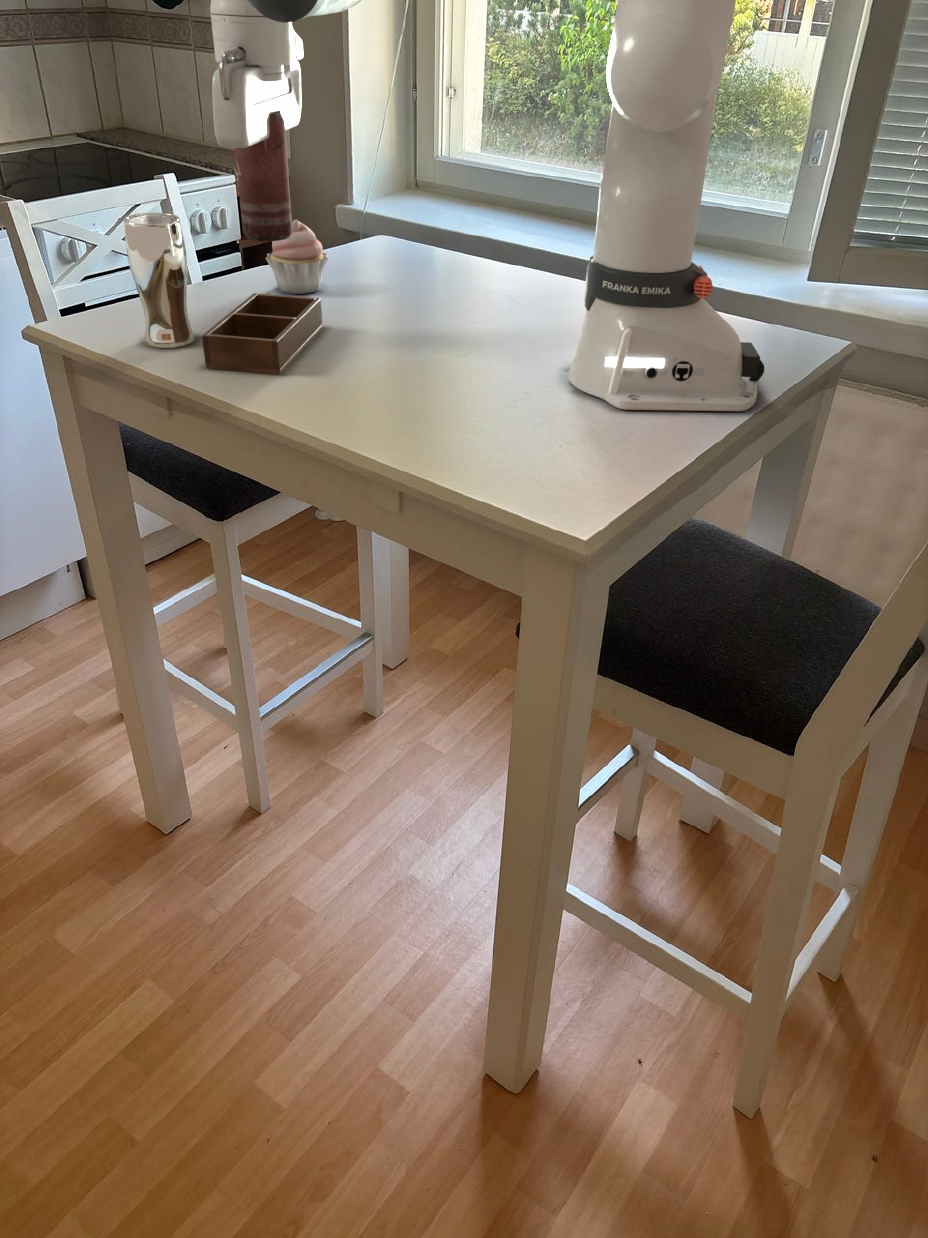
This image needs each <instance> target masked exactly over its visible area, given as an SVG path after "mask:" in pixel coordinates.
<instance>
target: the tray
mask: <svg viewBox="0 0 928 1238" xmlns="http://www.w3.org/2000/svg"><path fill="white" fill-rule="evenodd" d="M322 311H323V310H322V299H321V297H309V296H308V297H307V296H295V295H284V294H283V295H282V294H268V293H255V292H253V293H252V294H251V295H250V296H249V297H247V298H246V299H245V300H243V301H242V302H241V303H239V304H238V305H237V306H236V307H235V308H233V309H232V310H231V311H230V312H228V313H227V314H226V315H225V316H224V317H222V318H221V319H220V320H219V321H218V322H216V323H215V324H214V325H213V326H212V327H211V326H210V328H209V329H207V330H206V331H205V332H204V333H202V334H201V341H202V347H203V348H202V349H203V356H204V363H205V369H208V370H220V371H231V372H243V373H244V372H245V373H255V374H266V375H267V374H268V375H277V376H280V375H282V373H284V371H285V370H286V369H287V368H288V367H289V366H290V364H291V363H292V362H293V361H295V359H296V358H297V357H298V356H299V355H300V354H301V353H302V352H303V350H305V348H307V346H308V345H309V344H310V343H311V342H312V341H313V340H314V338H315V337H316V336H317V335H318V334H319V333H320V332H321V331H322V330H323V329H324V328H323V312H322Z"/></svg>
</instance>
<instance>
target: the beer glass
mask: <svg viewBox="0 0 928 1238" xmlns="http://www.w3.org/2000/svg"><path fill="white" fill-rule="evenodd" d="M122 221H123V227H124V238H125V247H126V256H127V260H128V265H129V269H130V273H131V276H132V279H133V282H134V286H135V288H136V291H137V293H138V296H139V299H140V302H141V306H142V310H143V314H144V321H145V322H144V323H145V329H144V330H145V333H144V335H145V337H144V339H145V343H146V344H147V345H148V346H150V347H153V348H159V349H175V348H181V347H185V346H188V345H190V344H192V343H193V342H194V340H195V335H194V333H193V329H192V325H191V322H190V319H189V314H188V305H187V303H188V302H187V299H188V296H187V295H188V258H187V250H186V244H185V240H184V235H183V231H182V225H181V221H180V216H179V215H177V214H173V213H169V212H142V213H133V214H130V215H127V216H125V217H123V220H122Z"/></svg>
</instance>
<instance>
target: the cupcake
mask: <svg viewBox="0 0 928 1238" xmlns="http://www.w3.org/2000/svg"><path fill="white" fill-rule="evenodd" d="M292 230H293V232H292V234H291V236H290V237H289V238H287V239H285V240H280V241H271V243H272V244H271V248H272V252H269V253H267V254H266V257H265V260H266V262H267V263H268V264H269V267H270V268H271V270H272V273H273V276H274V279H275V282H276V285H277V288H278V290H279V291H281V292H282V293H286V294H292V295H293V294H294V295H301V294H302V295H305V294H310V293H311V294H312V293H314V292H317V291H319V290H320V288H321V286H322V281H323V280H322V279H323V273H324V268H325V266H326V264H327V262H328V259H329V257H328V256H329V254H328V253H327V252H323V250H324V249H323V245H322V242H321V241H319V239H317V237H316V234H315V233H314V231H313V230H312V229H311V228H310V227H308V226H307V225H305V224H304V223H302V222H301V221H299V220H298V219H294V220H292Z"/></svg>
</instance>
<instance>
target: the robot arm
mask: <svg viewBox="0 0 928 1238" xmlns="http://www.w3.org/2000/svg"><path fill="white" fill-rule="evenodd" d="M361 1H362V0H210V6H209V9H210V11H209V13H210V21H211V32H212V41H213V50H214V51H213V52H214V59H215V60H214V61H215V62H216V63H219V64H218V68H217V69H216V70H215V71H214V72H213V75H212V82H211V84H212V85H211V86H212V87H211V95H212V96H211V97H212V115H213V130H214V135H215V139H216V141H217V144H218V146H219V147H222V148H232V149H235V148H247V147H250V146H252V145H254V144H256V143H259V142H261V141H263V140H265V139H268V138H269V134H270V128H269V118H270V114H275V113H279V111H281V115H282V117H283V118H284V120H285V132H286V131H289V130H290V129H293V128H295V127H297V126H299V125H300V120H301V114H302V74H301V73H302V71H301V66H300V63H299V61H300V60H302V59H304V43H303V40H302V38H301V37H300V36H299V35H298V33H296V31H295V30H294V27H293V23H294V22H297V21H300V20H303V19H306V18H309V17H316V16H325V15H329V14H337V13H341V12H344V11H346V10H349V9H350V8H353V7H355V6H356V5H357V4H359V3H361ZM736 3H737V0H617V3H616V9H615V17H614V20H613V26H612V31H611V39H610V44H609V50H608V56H607V64H606V84H607V89H608V92H609V96H610V99H611V101H612V103H611V111H610V119H609V126H608V133H607V139H606V146H605V154H604V160H603V166H602V172H601V177H600V185H599V193H598V194H599V195H598V205H597V215H596V225H595V235H594V245H593V255H591V256H590V258H589V261H588V266H587V267H586V275H585V286H584V298H583V301H584V307H585V314H584V319H583V324H582V329H581V333H580V337H579V341H578V345H577V348H576V352H575V355H574V358H573V360H572V363H571V366H570V368H569V370H568V373H567V380H568V381H569V382H570V384H571V385H573V386H574V387H575V388H576V389H578V390H580V391H582V392H584V393H585V394H588V395H590V396H593V397H596V398H599V399H602V400H604V401H606V402H607V403H608V404H610V405H611V406H612V407H615V408H617V409H620V410H626V411H627V410H629V411H630V410H631V411H695V412H696V411H698V412H700V411H702V412H703V411H705V412H744V411H747V410H749V409H751V408H752V407H753V406H754V405H755V403H756V401H757V396H758V385H757V382H758V381H759V380H760V379H761V378H762V377H763V375H764V373H765V364H764V362H763V361H762V360H761V356H760V354H759V352H758V351H757V349H756V347H755V346H754V344H753V343H752V342H747V341H746V342H744V341H743V342H742V341H741V340H740V337H739V335H738V333H737V331H736V330H735V328H733V326H732V325H731V324H730V323H729V322H727V320H725V319H724V317H722V316H721V315H720V314H719V313H718V312H717V310H715V309H714V307H712V306H711V305H710V304H709V303H708V302H707V301H706V300H705V299H706V298H707V299H708V298H709V297H710V295H712V294H713V290H714V288H713V280H712V279H711V278H710V277H709V276H708V273H707V272H706V271H705V270H704V268H703V267H702V265H700V264H699V265H697V264H696V263H694V262H693V261H692V260H693V255H694V248H695V242H696V235H697V229H698V223H699V216H700V209H701V204H702V199H703V198H702V197H703V190H704V185H705V176H706V169H707V163H708V156H709V151H710V144H711V136H712V129H713V123H714V118H715V110H716V104H717V98H718V91H719V84H720V82H721V78H722V74H723V69H724V63H725V58H726V54H727V48H728V44H729V40H730V39H729V38H730V33H731V28H732V24H733V18H734V13H735V8H736Z"/></svg>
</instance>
